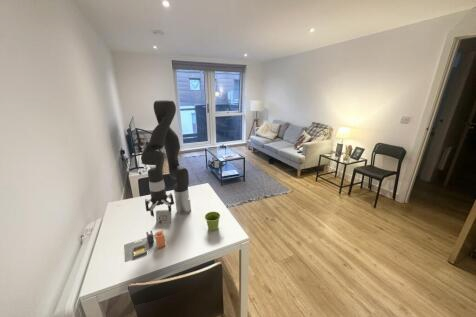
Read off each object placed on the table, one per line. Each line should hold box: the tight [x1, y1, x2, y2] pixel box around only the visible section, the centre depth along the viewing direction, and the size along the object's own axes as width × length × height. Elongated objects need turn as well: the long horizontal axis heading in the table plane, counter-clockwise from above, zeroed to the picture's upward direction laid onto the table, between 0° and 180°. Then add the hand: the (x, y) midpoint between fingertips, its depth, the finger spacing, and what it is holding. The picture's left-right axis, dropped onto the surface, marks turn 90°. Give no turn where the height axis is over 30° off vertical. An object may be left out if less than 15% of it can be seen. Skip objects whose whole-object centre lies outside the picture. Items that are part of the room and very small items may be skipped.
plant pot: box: [204, 211, 221, 232], centre depth 121 cm, size 9×9×9 cm
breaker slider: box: [145, 230, 154, 243], centre depth 110 cm, size 3×4×5 cm
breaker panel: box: [123, 234, 168, 263], centre depth 107 cm, size 20×13×3 cm, turn 120°
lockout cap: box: [154, 230, 167, 248], centre depth 106 cm, size 4×4×8 cm
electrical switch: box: [155, 209, 172, 224], centre depth 126 cm, size 9×5×9 cm, turn 90°
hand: (161, 213), depth 109 cm, fingers open, 8 cm apart
